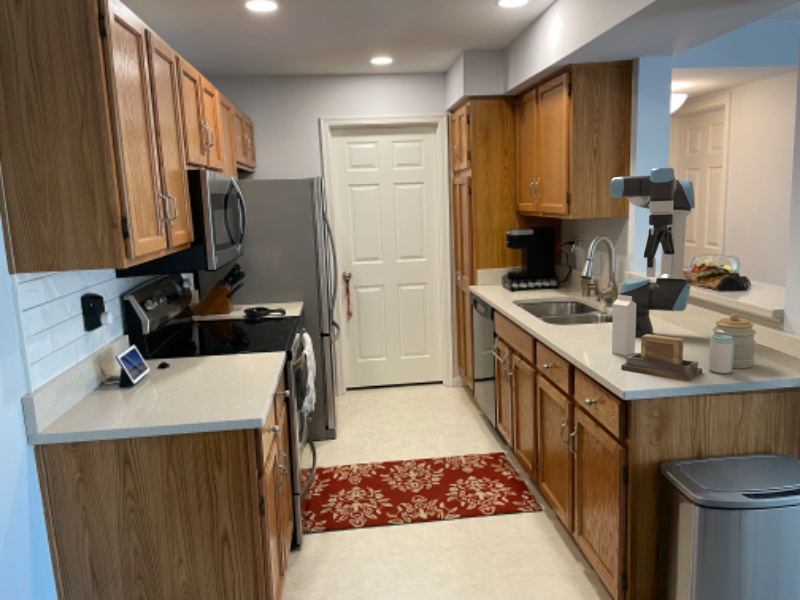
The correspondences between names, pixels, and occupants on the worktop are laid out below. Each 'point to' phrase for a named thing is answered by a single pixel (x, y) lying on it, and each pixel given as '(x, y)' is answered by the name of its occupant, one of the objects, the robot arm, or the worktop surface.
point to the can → (721, 354)
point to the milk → (624, 326)
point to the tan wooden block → (662, 349)
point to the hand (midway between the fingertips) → (658, 274)
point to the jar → (738, 339)
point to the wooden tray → (662, 368)
